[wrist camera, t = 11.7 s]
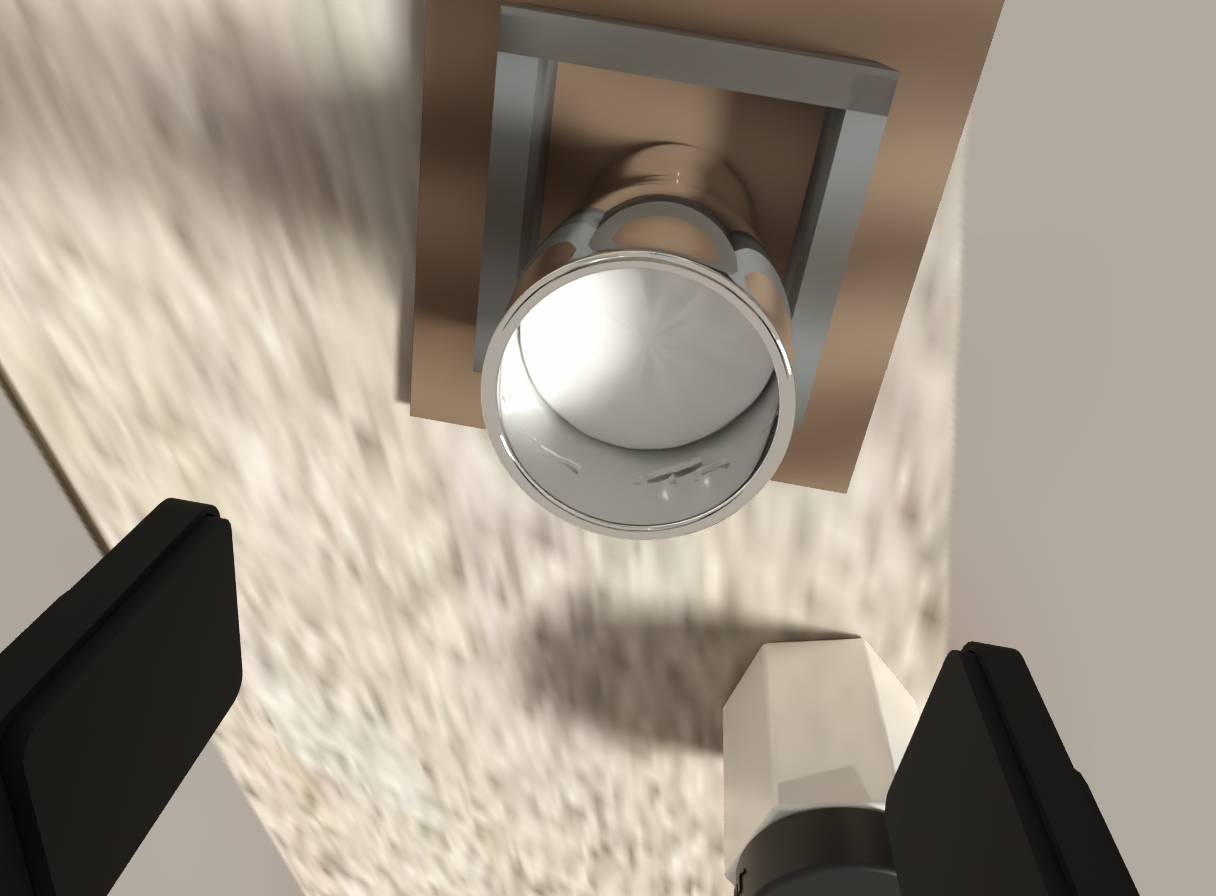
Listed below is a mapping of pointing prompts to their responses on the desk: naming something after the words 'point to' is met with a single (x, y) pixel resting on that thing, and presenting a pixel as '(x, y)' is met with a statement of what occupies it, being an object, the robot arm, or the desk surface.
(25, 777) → the robot arm
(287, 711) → the desk surface
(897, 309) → the u rest
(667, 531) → the beer glass
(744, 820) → the jar
